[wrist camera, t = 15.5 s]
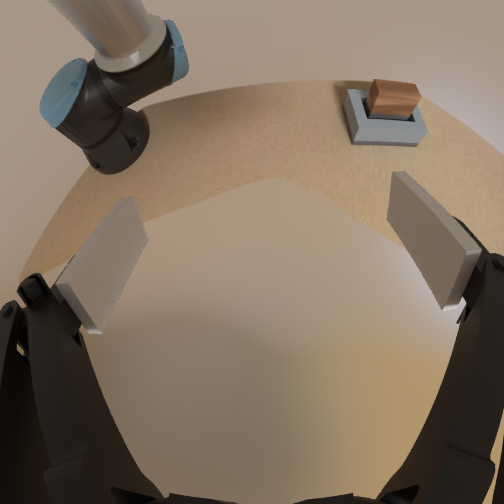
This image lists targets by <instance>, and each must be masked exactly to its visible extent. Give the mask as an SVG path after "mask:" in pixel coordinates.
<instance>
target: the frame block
mask: <svg viewBox="0 0 504 504" xmlns="http://www.w3.org/2000/svg"><path fill="white" fill-rule="evenodd" d="M369 92H370V90H356V89H347V93H346V97H345V100H344V104H343V111H344V115H345V119H346V123H347V127H348V131H349V135H350V139H351V143H352V145H387V146H408V147H416V146H417V145H418V144H419V142H420V141H421V140H422V139H423V137H424V136H425V135H426V134H427V129H426V126H425V124H424V121H423V118H422V116H421V113H420V111H419V108H418V106H417V105H416V107H415V108H414V110H413V112H412V113H411V115H410V116H409V118H408V120H407V121H396V120H382V119H367V117H366V113H365V110H364V105H365V103H366V100H367V97H368V95H369Z"/></svg>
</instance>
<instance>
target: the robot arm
mask: <svg viewBox="0 0 504 504" xmlns="http://www.w3.org/2000/svg"><path fill="white" fill-rule="evenodd" d="M48 1H49V2H50V3H51V4H52V5H53V6H54V7H55V8H56V9H57V10H58V11H59V12H60V13H61V14H62V15H63V16H64V17H65V18H66V19H67V20H68V21H69V22H70V23H71V24H72V25H73V26H74V27H75V28H76V29H77V30H78V31H79V32H80V33H81V34H82V35H83V36H84V37H85V38H86V39H87V40H88V41H89V42H90V43H91V44H92V45H93V47H94V48H95V54H94V56H95V57H94V59H92V60H91V61H89V62H87V61H86V60H85V59H82V58H77V59H74V60H72V61H70V62H69V63H67V64H66V65H65V66H64V67H62V68H61V69H60V70H59V71H58V72H57V73H56V75H55V76H54V77H53V78H52V80H51V81H50V83H49V84H48V86H47V87H46V89H45V91H44V93H43V96H42V98H41V102H40V114H41V116H42V117H43V118H44V119H45V120H46V121H47V122H48V123H49V124H50V126H51V127H53V128H55V129H56V130H58V131H59V132H60V133H62V134H63V135H65V136H66V137H67V138H68V139H70V140H71V141H72V142H74V143H75V144H76V145H78V146H79V147H80V148H82V150H83V152H84V154H85V156H86V158H87V160H88V161H89V163H90V165H91V166H92V167H93V168H94V169H96V170H97V171H99V172H100V173H103V174H115V173H118V172H121V171H123V170H125V169H126V168H128V167H129V166H130V165H132V164H133V163H134V162H135V161H136V160H137V159H138V157H139V156H140V155H141V154H142V152H143V150H144V149H145V147H146V144H147V142H148V138H149V126H148V124H147V122H146V120H145V119H144V118H143V117H142V115H141V114H139V113H138V112H136V111H134V110H132V109H130V108H127V106H129V105H131V104H132V103H134V102H136V101H138V100H140V99H142V98H144V97H146V96H148V95H150V94H152V93H153V92H156V91H157V90H160V89H162V88H164V87H166V86H170V85H171V84H173V83H174V82H175V81H177V80H179V79H181V78H183V77H185V76H186V74H187V73H188V69H189V64H188V58H187V54H186V51H185V49H184V45H183V41H182V38H181V35H180V33H179V31H178V28H177V27H176V25H175V23H174V22H173V21H172V20H166V21H165V20H162V19H161V18H160V17H158V16H156V15H152V14H148V13H147V11H146V9H145V7H144V5H143V4H142V2H141V0H48ZM387 220H388V222H389V223H390V225H391V226H392V228H393V229H394V231H395V232H396V234H397V235H398V237H399V238H400V240H401V241H402V243H403V244H404V246H405V247H406V249H407V250H408V252H409V254H410V255H411V257H412V258H413V260H414V262H415V263H416V265H417V267H418V268H419V270H420V272H421V273H422V275H423V277H424V278H425V280H426V282H427V284H428V285H429V287H430V289H431V291H432V293H433V295H434V297H435V298H436V300H437V302H438V304H439V306H440V308H441V310H442V311H445V310H449V309H454V308H457V306H458V304H459V302H460V300H461V298H462V296H463V298H464V299H465V301H466V305H465V307H464V309H463V311H462V313H461V315H460V317H459V319H458V320H457V323H458V324H459V322H460V326H459V330H458V333H457V337H456V341H455V344H454V348H453V351H452V354H451V357H450V361H449V364H448V367H447V370H446V372H445V375H444V378H443V381H442V384H441V386H440V389H439V391H438V394H437V396H436V399H435V401H434V404H433V406H432V408H431V411H430V413H429V415H428V417H427V420H426V422H425V424H424V426H423V428H422V430H421V432H420V434H419V436H418V438H417V440H416V442H415V444H414V446H413V448H412V449H411V451H410V453H409V455H408V457H407V458H406V460H405V462H404V463H403V465H402V466H401V467H400V469H399V470H398V471H397V472H396V473H395V474H394V475H393V476H392V477H391V478H390V480H389V481H388V482H387V484H386V485H385V486H384V488H383V489H382V491H381V492H380V493H379V495H378V496H377V498H376V499H371V498H366V497H359V496H353V493H350V494H345V495H339V496H333V497H325V498H317V499H308V500H304V501H301V502H298V503H294V504H482V503H483V501H484V498H485V496H486V494H487V492H488V490H489V487H490V485H491V483H492V480H493V477H494V474H495V464H494V463H493V462H492V461H491V460H490V454H491V450H492V448H493V445H494V442H495V438H496V435H497V432H498V428H499V425H500V421H501V417H502V414H503V409H504V256H502V255H500V254H496V253H491V254H490V253H489V252H488V251H487V249H486V248H485V247H484V246H483V245H482V243H481V242H480V241H479V240H478V239H477V238H476V237H475V236H474V234H473V233H472V232H471V231H470V230H469V229H468V228H467V227H466V225H465V224H464V223H463V222H461V221H460V220H458V219H457V218H455V217H454V216H451V215H450V214H449V212H448V211H447V210H446V209H445V208H444V207H443V206H442V205H441V204H440V203H439V202H438V201H437V200H436V199H435V198H433V197H432V196H431V195H430V194H429V193H428V192H427V191H426V190H425V189H424V188H423V187H422V186H421V185H420V184H419V183H417V182H416V181H415V180H414V179H413V178H412V177H411V176H410V175H408V174H407V173H406V172H392V179H391V189H390V198H389V207H388V214H387ZM147 242H148V237H147V234H146V232H145V229H144V226H143V223H142V220H141V218H140V215H139V212H138V209H137V206H136V203H135V200H134V197H133V196H132V197H127V198H122V199H121V200H120V201H119V202H118V203H117V204H116V205H115V206H114V207H113V209H112V210H111V211H110V212H109V213H108V214H107V216H106V217H105V218H104V219H103V220H102V222H101V223H100V224H99V225H98V226H97V228H96V229H95V230H94V231H93V233H92V234H91V235H90V236H89V238H88V239H87V240H86V241H85V243H84V244H83V245H82V247H81V248H80V249H79V251H78V252H77V253H76V254H75V255H74V256H73V257H72V259H71V260H70V262H69V263H68V265H67V266H66V267H65V269H64V271H62V273H61V274H60V276H59V277H58V279H57V280H56V282H55V283H54V284H53V286H52V287H51V289H50V288H49V287H48V285H47V284H46V282H45V280H44V279H43V277H42V275H41V274H40V273H34V274H32V275H30V276H28V277H27V278H26V279H24V280H23V282H22V283H21V284H20V285H19V287H18V289H17V293H18V294H19V296H20V297H21V299H22V300H23V302H24V303H25V304H26V306H27V307H25V308H21V307H20V306H19V304H18V303H17V301H15V300H13V301H10V302H8V303H6V304H5V305H4V306H3V307H2V309H1V311H0V504H237V503H234V502H227V501H220V500H214V499H206V498H198V497H190V496H184V495H177V494H172V493H170V494H169V497H167V498H164V497H163V496H162V494H161V493H160V491H159V490H158V489H157V487H156V486H155V485H154V484H153V483H152V482H151V481H150V480H149V479H148V478H147V477H146V476H144V474H143V473H142V472H141V471H140V469H139V468H138V466H137V464H136V462H135V461H134V459H133V457H132V455H131V454H130V451H129V450H128V448H127V446H126V444H125V442H124V440H123V438H122V436H121V434H120V432H119V430H118V428H117V426H116V424H115V421H114V419H113V417H112V415H111V413H110V410H109V408H108V406H107V403H106V401H105V399H104V396H103V394H102V391H101V388H100V386H99V383H98V381H97V378H96V375H95V372H94V370H93V367H92V364H91V361H90V358H89V355H88V352H87V348H86V345H85V342H84V339H83V336H82V334H81V333H80V331H79V328H80V326H81V324H82V325H83V326H84V327H85V329H86V330H87V331H88V333H93V334H103V332H104V329H105V327H106V325H107V323H108V320H109V318H110V316H111V314H112V312H113V309H114V307H115V305H116V303H117V301H118V299H119V297H120V295H121V293H122V290H123V288H124V286H125V284H126V282H127V280H128V278H129V276H130V274H131V272H132V270H133V268H134V266H135V265H136V263H137V261H138V259H139V257H140V255H141V253H142V251H143V249H144V248H145V246H146V244H147ZM460 320H461V321H460ZM17 344H18V345H19V346H20V347H21V348H22V349H23V351H24V355H21V354H20V353H19V352H18V351H17ZM492 504H504V437H503V445H502V453H501V459H500V464H499V470H498V475H497V479H496V485H495V489H494V494H493V500H492Z"/></svg>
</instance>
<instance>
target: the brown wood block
mask: <svg viewBox="0 0 504 504" xmlns="http://www.w3.org/2000/svg"><path fill="white" fill-rule="evenodd" d="M420 99H421V95H420V93H419V91H418V89H417V87H416V85H415V84H411V83H403V82H397V81H396V82H395V81H388V80H377V79H374V81H373V84H372V86H371V89H370V92H369V95H368V97H367V100H366V103H365V105H364V110H365V113H366V117H367V119H382V120H396V121H407V120H408V118H409V116H410V115H411V113H412V112H413V110H414V108H415V107H416V105H417V103H418V102H419V100H420Z"/></svg>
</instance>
